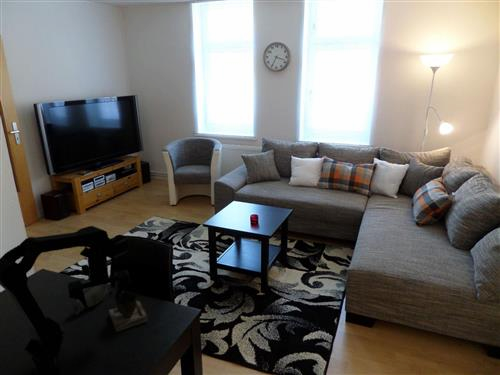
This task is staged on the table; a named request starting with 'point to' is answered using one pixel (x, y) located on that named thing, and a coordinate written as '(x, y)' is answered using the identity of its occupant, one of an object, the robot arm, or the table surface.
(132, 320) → the birch stand
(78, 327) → the table surface
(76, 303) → the decorative bird
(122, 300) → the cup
